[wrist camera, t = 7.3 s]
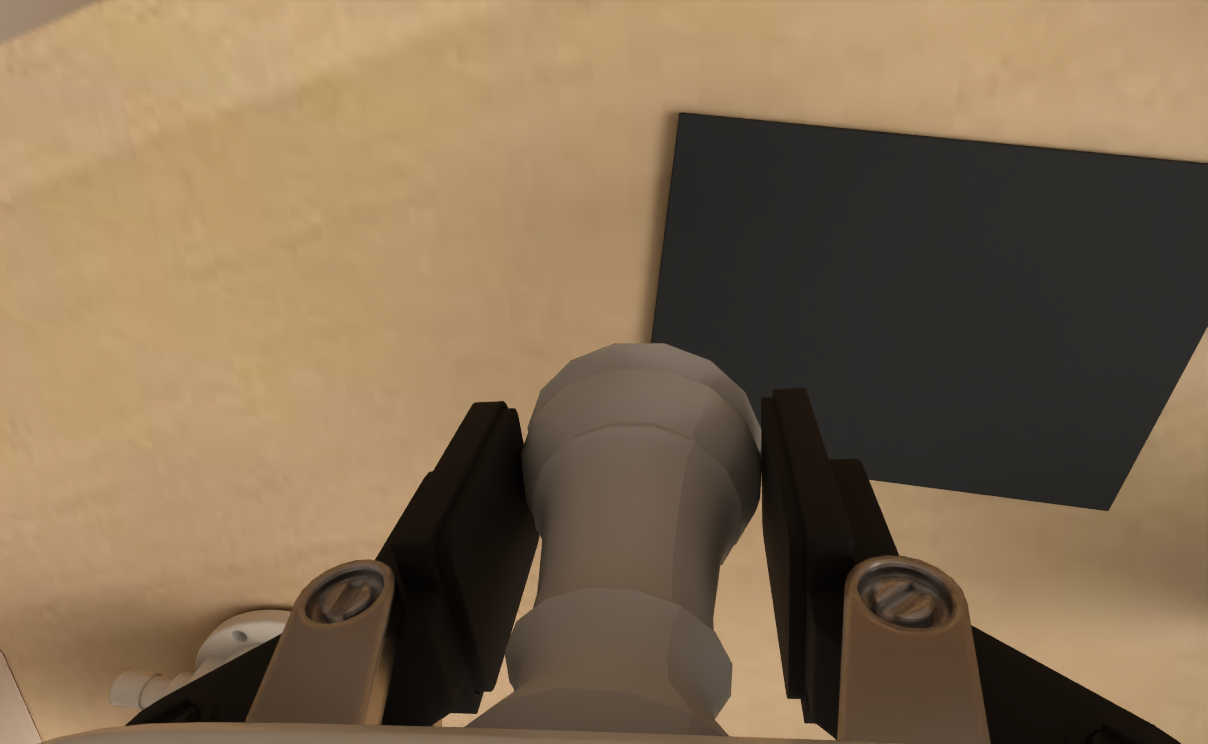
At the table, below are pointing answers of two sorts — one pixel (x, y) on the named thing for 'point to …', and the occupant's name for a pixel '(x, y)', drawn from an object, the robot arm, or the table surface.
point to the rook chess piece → (631, 544)
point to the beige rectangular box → (14, 711)
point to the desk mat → (941, 296)
